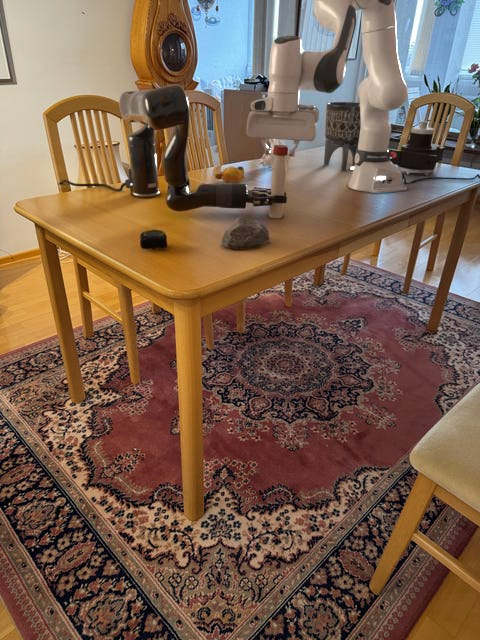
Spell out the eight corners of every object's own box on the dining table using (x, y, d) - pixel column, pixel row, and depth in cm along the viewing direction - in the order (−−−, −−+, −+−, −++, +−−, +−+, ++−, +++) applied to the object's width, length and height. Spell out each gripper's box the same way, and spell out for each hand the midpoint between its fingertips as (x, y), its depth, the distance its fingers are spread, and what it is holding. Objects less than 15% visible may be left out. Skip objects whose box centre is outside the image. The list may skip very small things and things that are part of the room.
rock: (255, 233, 128) (256, 211, 124) (276, 242, 122) (278, 219, 119) (217, 244, 120) (217, 220, 117) (239, 254, 115) (239, 230, 111)
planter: (313, 167, 208) (319, 103, 195) (331, 160, 222) (338, 101, 209) (353, 173, 199) (362, 107, 185) (369, 166, 213) (379, 104, 199)
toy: (212, 175, 175) (219, 166, 187) (218, 191, 178) (224, 181, 190) (239, 166, 171) (244, 157, 184) (245, 182, 174) (249, 173, 187)
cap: (289, 156, 133) (289, 147, 131) (275, 155, 132) (275, 147, 131) (285, 153, 136) (286, 144, 135) (271, 153, 135) (272, 144, 134)
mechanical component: (390, 120, 192) (418, 115, 212) (381, 171, 203) (408, 162, 223) (441, 125, 180) (466, 119, 200) (429, 179, 191) (453, 169, 211)
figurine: (286, 165, 210) (288, 136, 203) (269, 171, 199) (270, 140, 193) (271, 163, 214) (272, 134, 207) (253, 168, 203) (254, 138, 196)
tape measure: (140, 252, 115) (139, 238, 113) (141, 242, 120) (140, 229, 119) (167, 251, 116) (166, 237, 114) (167, 241, 121) (166, 228, 120)
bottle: (285, 217, 143) (290, 149, 133) (274, 219, 141) (279, 150, 131) (276, 213, 146) (281, 147, 136) (266, 215, 144) (270, 148, 134)
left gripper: (230, 189, 133) (288, 191, 132) (232, 178, 145) (285, 179, 145) (229, 214, 136) (286, 216, 136) (232, 201, 149) (284, 202, 148)
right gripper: (321, 104, 127) (316, 156, 134) (251, 101, 132) (249, 151, 139) (318, 106, 122) (313, 159, 129) (245, 103, 127) (244, 154, 134)
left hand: (285, 197), depth 140 cm, fingers closed on bottle, 4 cm apart
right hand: (279, 155), depth 134 cm, fingers open, 6 cm apart
